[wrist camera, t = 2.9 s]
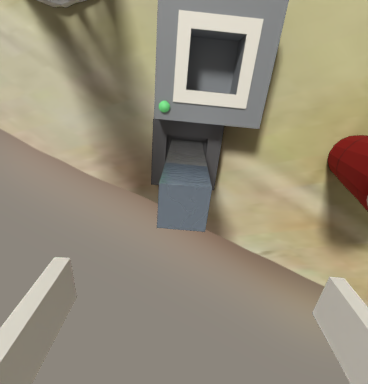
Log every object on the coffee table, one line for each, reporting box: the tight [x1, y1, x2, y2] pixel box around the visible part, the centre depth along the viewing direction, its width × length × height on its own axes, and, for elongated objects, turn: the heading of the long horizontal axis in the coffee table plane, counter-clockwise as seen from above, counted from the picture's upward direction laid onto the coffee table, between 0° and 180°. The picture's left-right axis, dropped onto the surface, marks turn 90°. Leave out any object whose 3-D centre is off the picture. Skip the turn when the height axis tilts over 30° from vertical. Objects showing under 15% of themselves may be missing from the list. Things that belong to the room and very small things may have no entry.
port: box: [154, 0, 289, 129], centre depth 25 cm, size 12×12×5 cm
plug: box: [157, 139, 212, 232], centre depth 25 cm, size 4×4×15 cm
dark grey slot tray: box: [151, 119, 224, 190], centre depth 32 cm, size 9×9×2 cm
